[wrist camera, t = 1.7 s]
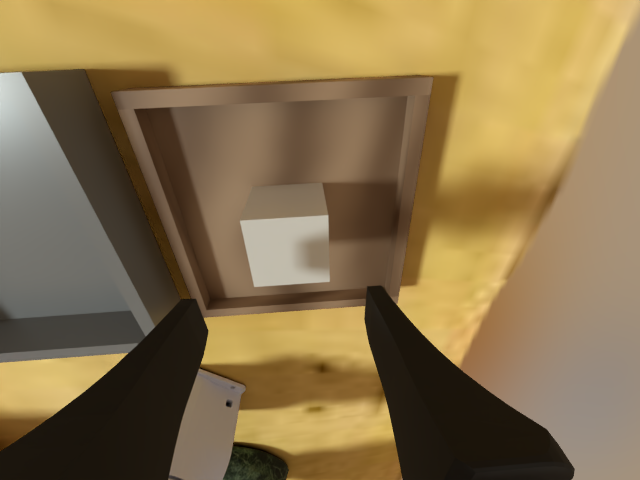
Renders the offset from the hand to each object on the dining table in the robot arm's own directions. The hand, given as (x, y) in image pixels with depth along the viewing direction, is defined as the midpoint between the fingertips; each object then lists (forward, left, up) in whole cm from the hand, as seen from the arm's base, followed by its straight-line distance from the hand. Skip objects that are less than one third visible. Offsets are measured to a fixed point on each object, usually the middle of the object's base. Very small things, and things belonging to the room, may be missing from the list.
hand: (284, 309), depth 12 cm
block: (0, 0, -9) cm, 9 cm away
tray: (0, 0, -9) cm, 9 cm away
